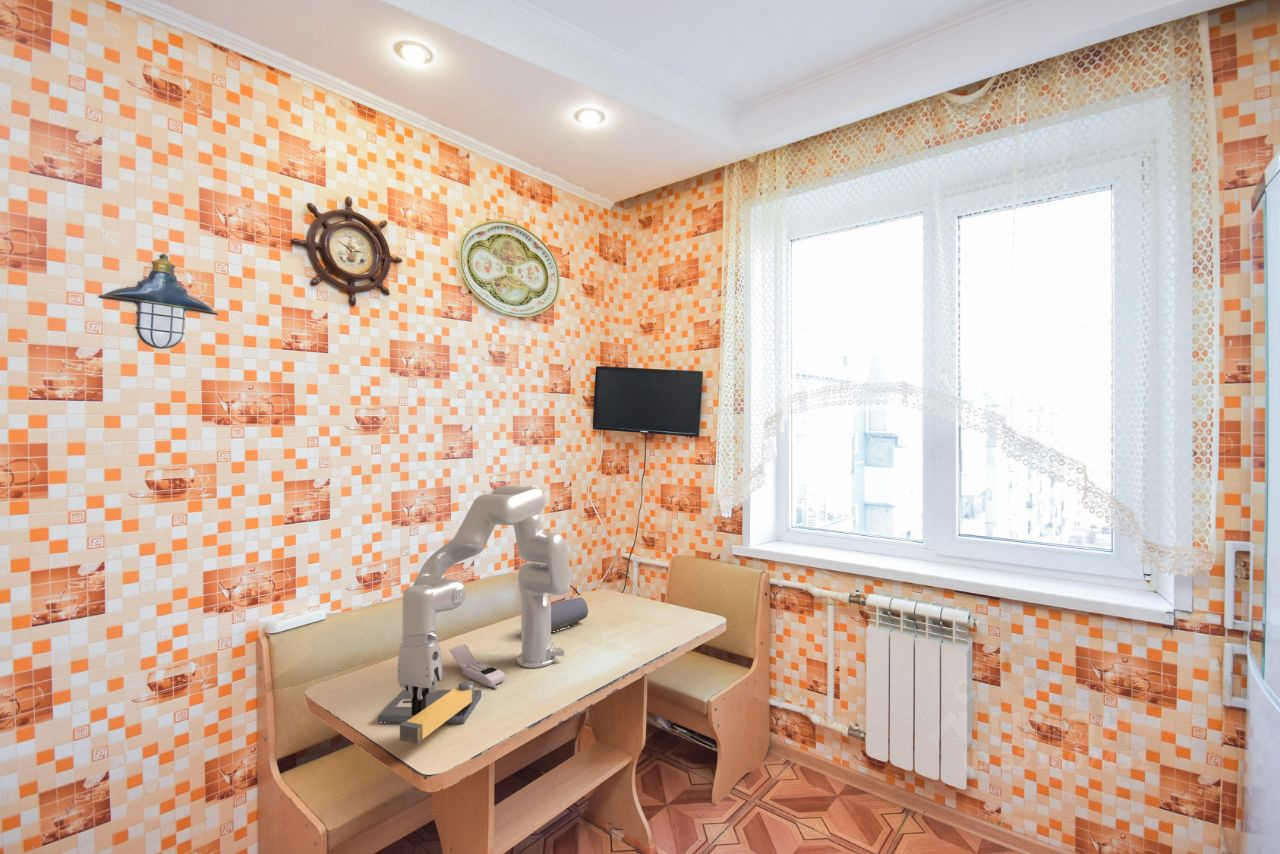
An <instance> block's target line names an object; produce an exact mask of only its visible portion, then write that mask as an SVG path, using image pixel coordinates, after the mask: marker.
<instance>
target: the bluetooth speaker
mask: <svg viewBox="0 0 1280 854" xmlns="http://www.w3.org/2000/svg"><path fill="white" fill-rule="evenodd" d="M588 614H589V609H588V605H587V601H586V600H585V599H584V598H582V597H575V598H569V599H565V600H561V601H557V602H554V603H551V632H553V631H557V630H560V629H562V628H566V627H568V626H570V627H571V625H573V624H575V623H578V622H580V621H583V620H585V619H586V618H587V616H588Z"/></svg>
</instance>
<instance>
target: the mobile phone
mask: <svg viewBox="0 0 1280 854" xmlns="http://www.w3.org/2000/svg"><path fill="white" fill-rule="evenodd" d="M448 650H449V652H450V654H451V655H452V657H453V658H454V660H455V661H456V663H457V664H458V665H459V667H460V668H461V673H462V675H465V676H466V677H468V678H470V679H471V680H473V679H474V680H473V681H475V680H476V681H475V682H477V681H478V683H479V684H481V685H483V686H487V687H490V688H493V689H495V690H498V686H497V684H500V683H502V682H504V681H505V680H506V678H505V677H506V675H505V673H504V672H503V671H502V670H500V669H498V668H497V667H495V666H491V665H488V664H485V663H483V662H481V661H479V660H477V659H476V658H475V656H474V654H472V652H471V650H470V649H469V647H468V645H466V644H461V645H458V646H455V647H452V648H449V649H448Z"/></svg>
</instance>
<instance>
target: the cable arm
mask: <svg viewBox="0 0 1280 854" xmlns="http://www.w3.org/2000/svg"><path fill="white" fill-rule="evenodd" d="M450 690H451V691H450V692H448V693H447V694H445V695H444V696H443V697H441V698H440V699H438V700H437V701H435V702H434V703H432V704H431V705H430V706H428V707H427V708H425V709H424V710H422V711H421V712H419V713H418V714H416V715H415V716H414V717H412V718H411V719H409V720H408V721H404V722H403V723H399V741H401V742H405V743H409V744H413V745H414V744H415V745H419V744H420V743H422V741H423V740H424V739H425V738H426V737H428V736H429V735H430V734H432V733H433V732H434V731H435V730H436V729H438V728H439V727H440V726H442V725H444V724H443V723H444V722H446V721H447V720H448V719H450V718H451V717H452V716H454V715H455V714H456V713H458V712H459V711H460V710H462V709H463V708H464V707H468V706H471V705H473V704H474V690H475V683H474V681H471V680H466V681H465V680H464V681H461V682H460V683H458V685H457V687H454V688H453V689H450Z"/></svg>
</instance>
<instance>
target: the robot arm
mask: <svg viewBox="0 0 1280 854" xmlns="http://www.w3.org/2000/svg"><path fill="white" fill-rule="evenodd" d="M545 504H546V496H545V494H544V492H543V491H542V490H541V489H540V488H539V487H535V486H534V487H533V486H518V485H516V486H515V485H502V486H498V487H495V489H493V490H492V492H491V493H490V494H489V493H485V494H481V495H478V496H477V497H476V498H475V499H474V501H473V502H472V504H471V506H470V508H469V509H468V511H467V513H466V515H465V517H464V518H463V520H462V523H461V524H460V527H458V530H457V531H456V534H455V536H453V538H451V540H449V541H447V542H446V543H445V544H443V545H442V546H441V547H440V548H439V549H437V550H436V551H435V552H434V553H433V554H431V556H429V558H427V559H426V561H425V563H424V564H423V565H422V567H421V569H420V571H418V575H416V578H415V580H414V582H413V585H412V586H409V587H407V588H405V589H404V591H403V594H402V634H401V635H402V643H401V644H400V647H399V651H398V657H397V668H396V669H397V672H396V673H397V675H396V677H397V681H398V683H399V687H401V688H403V689H404V690H407V691H408V693H409V698H411V699H412V715H413V716H414V715H416V714H418V713H419V712H421V711H422V710H424V709H425V708H426V696H427V695H428V694H429V693H432V692H436V691H437V690H440V687H439V683H438V682H441V681H442V679H443V663H442V654H441V647H440V644H439V641H438V640H439V635H438V634H436V614H437V613H442V612H447V611H452V610H453V611H454V610H455V609H457V608H458V607H460V606H461V605H462V604H463V603H464V601H465V600H466V597H467V587H466V586H465V585H464V583H462V581H459V580H458V579H452V578H445V577H443V576H444V574H445V573H446V572H447V571H448V570H449V569H450V568H451V567H453V566H454V565H456V564H457V563H460V562H462V561H464V560H468V559H470V558H473V557H475V556H478V555H479V554H480V553H482V552H483V550H484V549H485V547H486V545H487V542H488V541H489V538H490V537H491V535H492V533H493V531H494V529H495V528H496V526H497V525H498V526H499V525H501V526H513V529H514V534H515V535H514V537H515V541H516V546H517V552H518V555H519V557H520V558H521V559H522V560H524V561H528V562H525V563H523V564H522V566H520V568H519V570H518V574H517V583H518V588H519V593H520V605H521V607H520V610H521V613H520V614H521V617H520V619H521V621H520V622H521V623H520V625H521V632H520V633H521V641H520V642H521V643H520V644H521V645H520V648H521V650H520V651H521V653H519V654H518V655H517V656H516V663H517V664H518V665H519V666H521V667H524V668H528V669H529V668H530V669H533V668H542V667H546V666H549V665H551V664H553V663H554V662H555V661H556V660H557V657H564V656H565V653H566V652H565V649H563V647H561V646H560V647H556V646H554V642H552V633H551V604H552V602H551V599H550V596H561V595H564V594H566V593H567V592H568V591H569V589H570V587H571V582H572V573H571V567H570V559H569V558H570V557H569V552H568V546H567V542H566V540H565V538H564V537H563V536H562V535H561V534H559V533H556V532H550V531H544V530H543V527H542V521H541V517H540V513H541V512H542V511H543V509H544V508H545ZM549 595H550V596H549Z"/></svg>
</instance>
